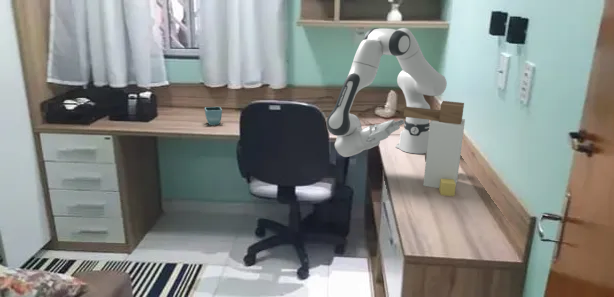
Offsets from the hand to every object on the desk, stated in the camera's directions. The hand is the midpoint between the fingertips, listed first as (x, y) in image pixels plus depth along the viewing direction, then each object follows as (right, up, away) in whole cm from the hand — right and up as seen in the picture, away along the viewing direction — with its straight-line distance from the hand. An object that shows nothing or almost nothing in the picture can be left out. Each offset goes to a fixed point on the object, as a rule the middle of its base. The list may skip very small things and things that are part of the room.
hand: (401, 123), depth 201 cm
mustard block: (+16, -27, -10) cm, 33 cm away
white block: (+16, -24, 0) cm, 29 cm away
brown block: (+11, +2, -5) cm, 12 cm away
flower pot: (-91, +3, +79) cm, 120 cm away
